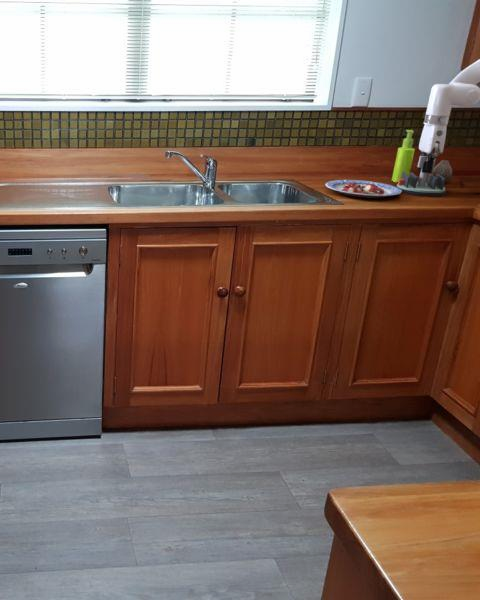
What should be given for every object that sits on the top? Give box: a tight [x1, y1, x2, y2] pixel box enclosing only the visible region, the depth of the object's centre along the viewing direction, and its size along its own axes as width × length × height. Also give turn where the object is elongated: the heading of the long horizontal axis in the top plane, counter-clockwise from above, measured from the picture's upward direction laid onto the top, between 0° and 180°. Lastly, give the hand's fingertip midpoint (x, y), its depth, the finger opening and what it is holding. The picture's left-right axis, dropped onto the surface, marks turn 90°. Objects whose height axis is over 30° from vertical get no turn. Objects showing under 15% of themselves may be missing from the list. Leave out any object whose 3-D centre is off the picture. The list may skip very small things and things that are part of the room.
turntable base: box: [395, 185, 447, 198], centre depth 228 cm, size 17×17×1 cm
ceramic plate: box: [325, 179, 402, 199], centre depth 224 cm, size 26×26×3 cm
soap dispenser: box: [391, 129, 416, 183], centre depth 241 cm, size 6×7×20 cm
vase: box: [431, 159, 453, 184], centre depth 242 cm, size 7×7×9 cm
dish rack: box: [396, 155, 446, 193], centre depth 225 cm, size 16×16×12 cm
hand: (424, 171), depth 225 cm, fingers closed on dish rack, 2 cm apart
